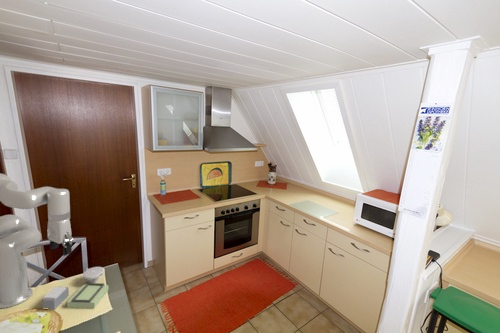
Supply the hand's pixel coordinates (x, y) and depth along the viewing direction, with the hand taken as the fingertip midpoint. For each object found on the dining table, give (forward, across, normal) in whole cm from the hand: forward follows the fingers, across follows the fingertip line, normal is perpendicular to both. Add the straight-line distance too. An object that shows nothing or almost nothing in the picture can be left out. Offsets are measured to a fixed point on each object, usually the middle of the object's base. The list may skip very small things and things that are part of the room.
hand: (60, 251), depth 103 cm
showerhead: (+26, -2, +15) cm, 30 cm away
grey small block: (+26, -2, -2) cm, 26 cm away
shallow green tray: (+26, +8, +7) cm, 28 cm away
